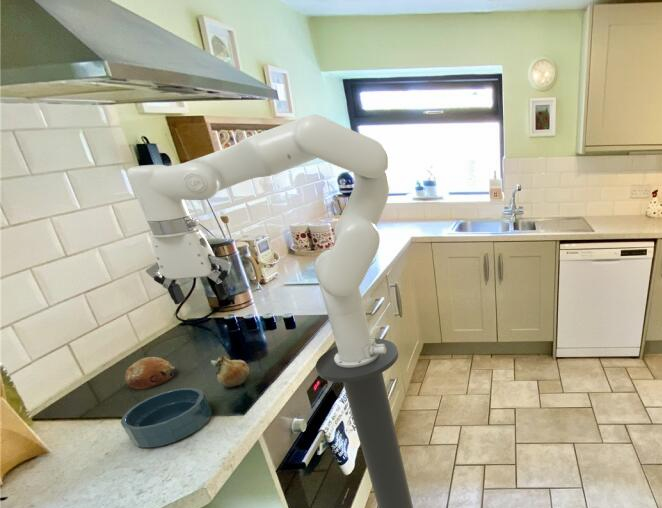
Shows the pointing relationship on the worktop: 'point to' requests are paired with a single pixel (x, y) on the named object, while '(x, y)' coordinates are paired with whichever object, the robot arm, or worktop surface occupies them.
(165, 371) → the bread roll
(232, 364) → the onion
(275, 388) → the worktop surface
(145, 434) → the bowl
